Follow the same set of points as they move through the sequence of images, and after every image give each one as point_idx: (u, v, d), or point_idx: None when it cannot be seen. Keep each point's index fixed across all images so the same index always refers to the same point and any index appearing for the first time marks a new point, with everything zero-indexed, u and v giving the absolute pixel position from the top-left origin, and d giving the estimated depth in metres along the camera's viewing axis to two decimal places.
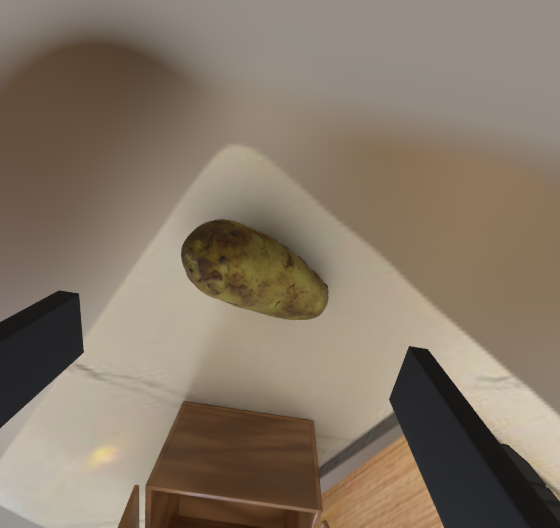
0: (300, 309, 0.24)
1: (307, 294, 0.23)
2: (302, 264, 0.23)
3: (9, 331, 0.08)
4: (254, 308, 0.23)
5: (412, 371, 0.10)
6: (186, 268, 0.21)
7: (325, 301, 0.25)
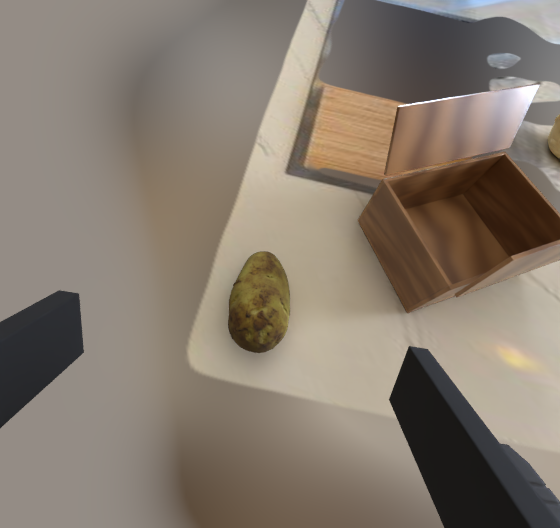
0: (266, 262, 0.35)
1: (254, 263, 0.34)
2: (238, 276, 0.34)
3: (9, 331, 0.08)
4: (279, 287, 0.33)
5: (412, 371, 0.10)
6: (269, 338, 0.29)
7: (257, 252, 0.36)
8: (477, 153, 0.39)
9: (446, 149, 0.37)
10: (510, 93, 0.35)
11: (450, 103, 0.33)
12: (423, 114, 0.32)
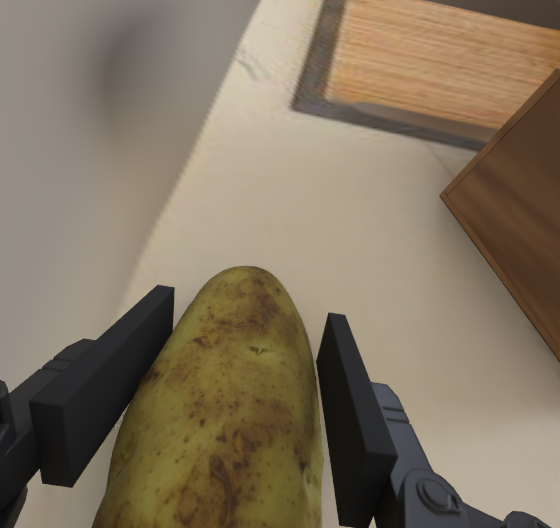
0: (252, 301, 0.12)
1: (214, 304, 0.12)
2: (165, 344, 0.11)
3: (141, 317, 0.10)
4: (291, 393, 0.10)
5: (328, 332, 0.12)
6: None
7: (227, 270, 0.14)
8: None
9: None
10: None
11: None
12: None
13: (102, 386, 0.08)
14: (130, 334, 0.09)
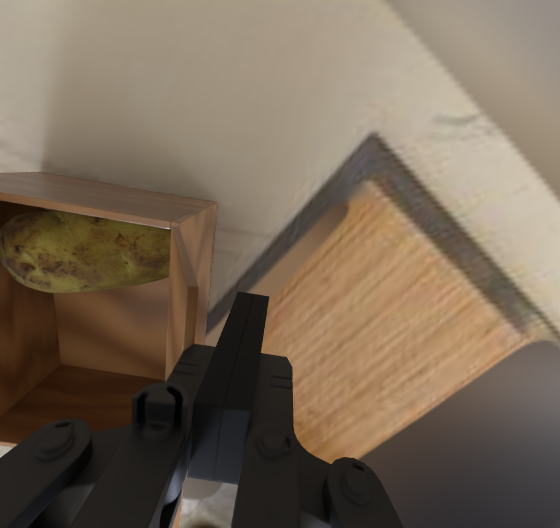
0: (155, 256, 0.21)
1: (146, 237, 0.21)
2: None
3: (241, 323, 0.11)
4: (110, 280, 0.21)
5: None
6: (15, 278, 0.20)
7: None
8: None
9: (167, 374, 0.17)
10: None
11: None
12: (178, 353, 0.11)
13: None
14: (241, 340, 0.10)
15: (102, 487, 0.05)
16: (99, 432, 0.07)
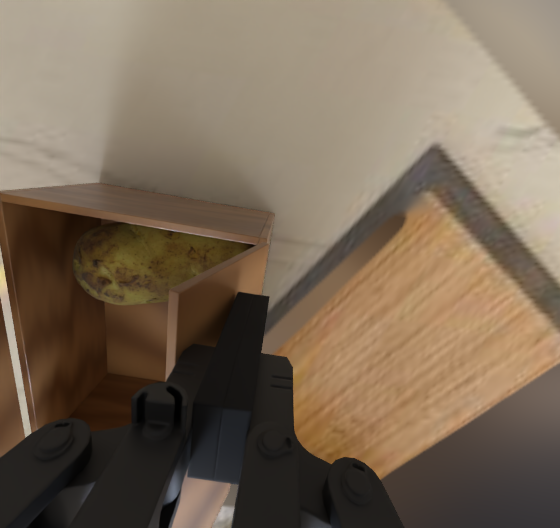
0: None
1: (215, 250, 0.21)
2: None
3: (241, 323, 0.11)
4: None
5: None
6: (86, 291, 0.20)
7: (246, 246, 0.22)
8: None
9: None
10: None
11: None
12: None
13: None
14: (241, 340, 0.10)
15: (102, 487, 0.05)
16: (99, 432, 0.07)
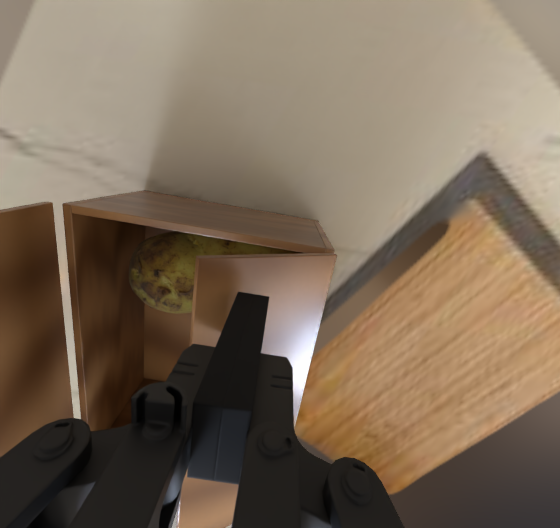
0: None
1: None
2: None
3: (240, 323, 0.11)
4: None
5: None
6: (142, 300, 0.20)
7: None
8: None
9: None
10: None
11: None
12: None
13: None
14: (241, 340, 0.10)
15: (101, 487, 0.05)
16: (99, 432, 0.07)
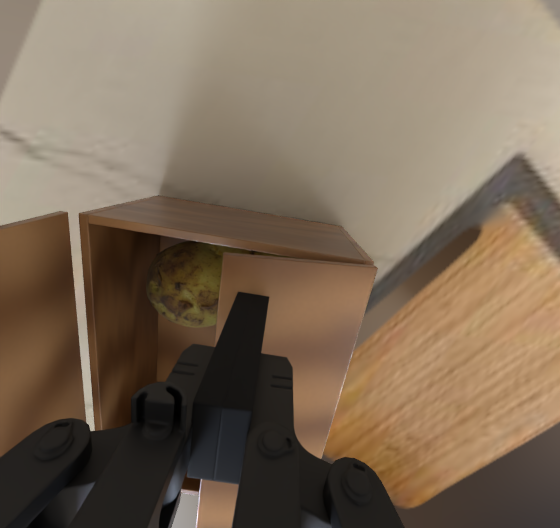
0: None
1: None
2: None
3: (240, 323, 0.11)
4: None
5: None
6: (160, 314, 0.19)
7: None
8: None
9: None
10: None
11: None
12: None
13: None
14: (241, 340, 0.10)
15: (101, 487, 0.05)
16: (98, 432, 0.07)
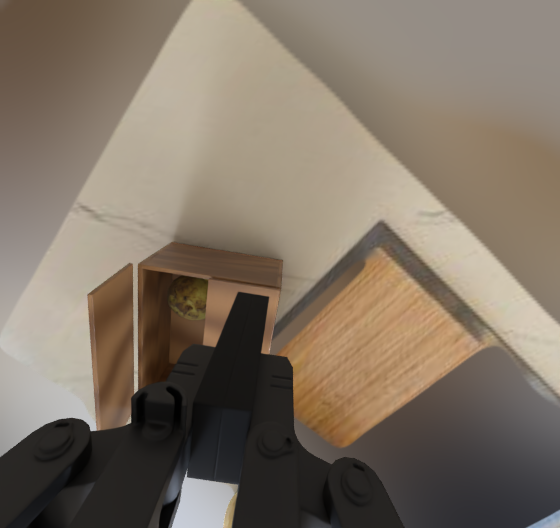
0: None
1: None
2: None
3: (241, 323, 0.11)
4: None
5: None
6: (175, 312, 0.35)
7: None
8: None
9: None
10: None
11: None
12: None
13: None
14: (241, 340, 0.10)
15: (102, 487, 0.05)
16: (98, 432, 0.07)
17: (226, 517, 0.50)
